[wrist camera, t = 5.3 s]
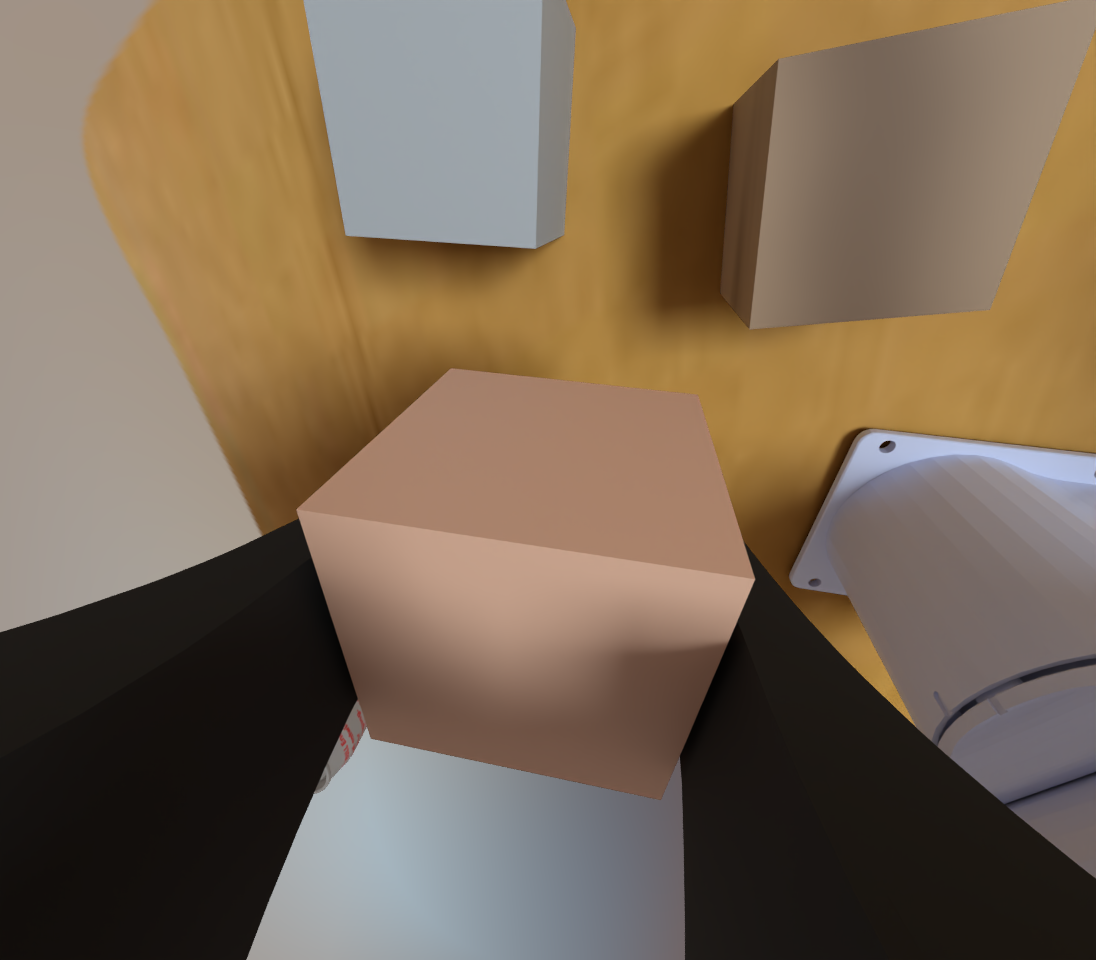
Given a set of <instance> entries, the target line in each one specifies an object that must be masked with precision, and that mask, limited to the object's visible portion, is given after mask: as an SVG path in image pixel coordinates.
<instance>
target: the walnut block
mask: <svg viewBox="0 0 1096 960" xmlns="http://www.w3.org/2000/svg"><path fill="white" fill-rule="evenodd" d="M1095 29H1096V0H1069V1H1064V2H1059V3H1054V4H1049V5H1045V6H1040V7H1035V8H1030V9H1025V10H1020V11H1015V12H1010V13H1005V14H1000V15H995V16H990V17H985V18H980V19H975V20H970V21H965V22H960V23H955V24H950V25H945V26H940V27H935V28H930V29H925V30H920V31H915V32H910V33H905V34H901V35H896V36H891V37H886V38H881V39H876V40H871V41H866V42H861V43H856V44H851V45H846V46H841V47H836V48H831V49H826V50H821V51H816V52H811V53H806V54H801V55H796V56H791V57H786V58H781V59H778V60H777V61H776V62H775V63H774V64H773V65H772V66H771V67H770V68H769V69H768V70H767V71H766V72H765V73H764V74H763V75H762V76H761V77H760V78H759V79H758V80H757V81H756V82H755V83H754V84H753V85H752V86H751V87H750V88H749V89H748V90H747V91H746V92H745V93H744V94H743V95H742V96H741V97H740V98H739V99H738V100H737V101H736V102H735V103H734V105H733V119H732V133H731V147H730V161H729V175H728V189H727V203H726V217H725V231H724V245H723V260H722V274H721V288H720V294H721V295H722V296H723V298H724V299H725V300H726V301H727V302H728V304H729V305H730V306H731V307H732V309H733V310H734V311H735V312H736V313H737V315H738V316H739V317H740V318H741V320H742V321H743V322H744V323H745V324H746V326H747V327H748V328H749V329H761V328H773V327H785V326H798V325H810V324H822V323H834V322H847V321H859V320H871V319H884V318H896V317H908V316H920V315H933V314H945V313H957V312H970V311H982V310H990V308H991V306H992V303H993V300H994V298H995V295H996V292H997V290H998V287H999V284H1000V282H1001V279H1002V276H1003V274H1004V271H1005V268H1006V266H1007V263H1008V260H1009V258H1010V255H1011V252H1012V250H1013V247H1014V244H1015V242H1016V239H1017V236H1018V234H1019V231H1020V228H1021V226H1022V223H1023V221H1024V218H1025V215H1026V213H1027V210H1028V207H1029V205H1030V202H1031V199H1032V197H1033V194H1034V191H1035V189H1036V186H1037V183H1038V181H1039V178H1040V175H1041V173H1042V170H1043V167H1044V165H1045V162H1046V159H1047V157H1048V154H1049V151H1050V149H1051V146H1052V143H1053V141H1054V138H1055V135H1056V133H1057V130H1058V127H1059V125H1060V122H1061V119H1062V117H1063V114H1064V111H1065V109H1066V106H1067V103H1068V101H1069V98H1070V95H1071V93H1072V90H1073V87H1074V85H1075V82H1076V79H1077V77H1078V74H1079V71H1080V69H1081V66H1082V63H1083V61H1084V58H1085V55H1086V53H1087V50H1088V47H1089V45H1090V42H1091V39H1092V37H1093V34H1094V31H1095Z"/></svg>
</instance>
